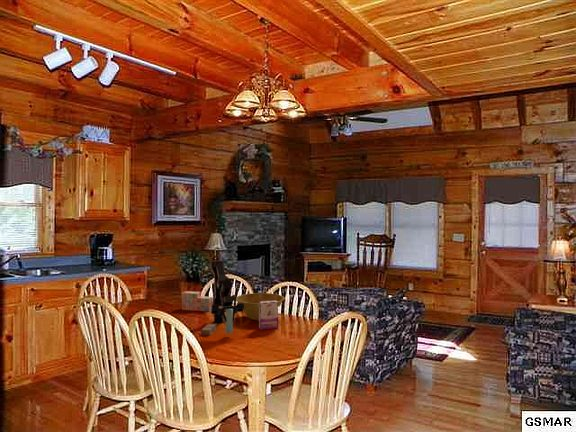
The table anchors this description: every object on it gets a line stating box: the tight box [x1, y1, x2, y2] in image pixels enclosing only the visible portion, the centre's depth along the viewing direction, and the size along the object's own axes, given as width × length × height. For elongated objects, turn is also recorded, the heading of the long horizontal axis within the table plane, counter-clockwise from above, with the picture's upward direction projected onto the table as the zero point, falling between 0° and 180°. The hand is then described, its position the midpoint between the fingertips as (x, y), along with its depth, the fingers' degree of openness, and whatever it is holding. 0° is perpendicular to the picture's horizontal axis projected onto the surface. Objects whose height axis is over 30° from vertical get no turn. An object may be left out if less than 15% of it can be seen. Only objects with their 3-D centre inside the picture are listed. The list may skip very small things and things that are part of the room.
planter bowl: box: [235, 292, 285, 321], centre depth 301 cm, size 32×32×13 cm
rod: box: [225, 309, 234, 334], centre depth 259 cm, size 4×4×13 cm
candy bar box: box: [258, 300, 279, 331], centre depth 276 cm, size 11×5×16 cm, turn 105°
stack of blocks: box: [181, 290, 214, 313], centre depth 324 cm, size 21×6×12 cm, turn 74°
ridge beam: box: [200, 323, 218, 337], centre depth 268 cm, size 14×5×3 cm, turn 172°
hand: (229, 321), depth 258 cm, fingers closed on rod, 4 cm apart
